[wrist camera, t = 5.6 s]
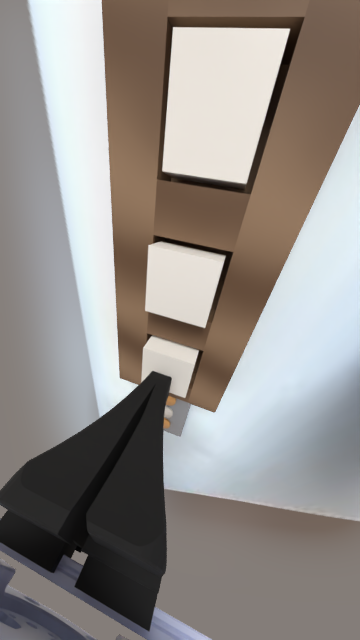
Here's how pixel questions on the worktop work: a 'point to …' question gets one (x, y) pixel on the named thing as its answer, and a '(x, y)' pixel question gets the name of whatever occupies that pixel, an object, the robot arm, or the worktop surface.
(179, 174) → the near button
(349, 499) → the worktop surface
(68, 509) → the robot arm
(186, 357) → the far button
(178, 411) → the pattern card
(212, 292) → the middle button
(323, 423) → the worktop surface
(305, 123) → the button panel
